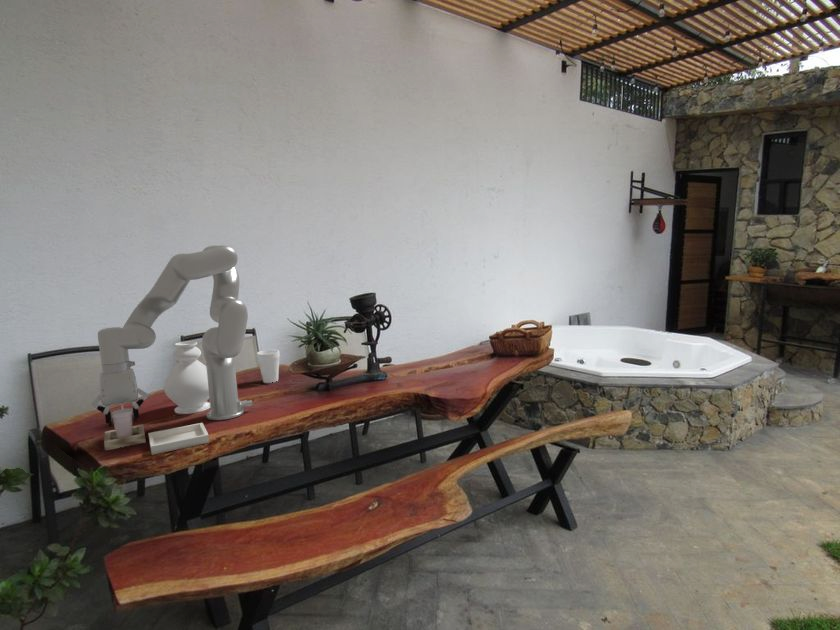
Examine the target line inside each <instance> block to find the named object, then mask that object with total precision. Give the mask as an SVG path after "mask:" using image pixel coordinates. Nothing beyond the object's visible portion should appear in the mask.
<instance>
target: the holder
mask: <svg viewBox="0 0 840 630" xmlns="http://www.w3.org/2000/svg"><path fill="white" fill-rule="evenodd" d="M103 436H104V439H103V442H104V443H103V444H104V451H110V450H115V449H119V448H120V447H121V448H124V447H125V446H126V447H130V445H131V446H135V445H139V444H140V445H141V444H145V443H146V442H147V441H146V433H145V426H144V424H137V425H134V426H133V425H132V436H128V437H123V438H118V437H117V434H116V430H115V429H112V430H106V431H104V435H103Z"/></svg>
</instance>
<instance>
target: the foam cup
mask: <svg viewBox="0 0 840 630" xmlns="http://www.w3.org/2000/svg"><path fill="white" fill-rule="evenodd" d="M256 357H257V358H256V359H257V361H258V364H259V365H258V366H259V368H260V369H259V370H260V373H261V378H262V382H263V383H264V384H273V383H276V381H277V382H278V381H279V370H280V357H281V354H280V350H278V349H266V350H261V351H257V352H256ZM272 382H273V383H272Z"/></svg>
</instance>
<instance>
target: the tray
mask: <svg viewBox="0 0 840 630" xmlns="http://www.w3.org/2000/svg"><path fill="white" fill-rule="evenodd" d="M147 434H148V441H149V447H150V453H151V455H152V456H153V455H157V454H158V455H159V454H162V453H166V452H170V451H175V450H180V449H186V448H190V447H194V446H199V445H200V446H201V445H203V444H209V443H210V437H209V433H208V430H207V429H206V427H205V424H204V423H203V422H199V423H194V424H193V423H192V424H190V425H184V426H178V427H173V428H168V429H161V430H158V431H157V430H156V431H153V432H148V433H147Z"/></svg>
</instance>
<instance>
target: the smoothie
mask: <svg viewBox="0 0 840 630" xmlns="http://www.w3.org/2000/svg"><path fill="white" fill-rule="evenodd" d="M110 415H111V420H112V422H113V423H112V424H113V426H114V430H116V434H117V437H118V438H123V437H128V436H133V435H132V426H133V419H134V412H133V408H128V407H127V408H124V403H121V404H120V409H116V410H113V411H110ZM118 438H117V439H118Z"/></svg>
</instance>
